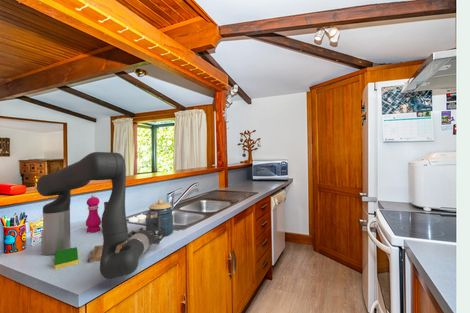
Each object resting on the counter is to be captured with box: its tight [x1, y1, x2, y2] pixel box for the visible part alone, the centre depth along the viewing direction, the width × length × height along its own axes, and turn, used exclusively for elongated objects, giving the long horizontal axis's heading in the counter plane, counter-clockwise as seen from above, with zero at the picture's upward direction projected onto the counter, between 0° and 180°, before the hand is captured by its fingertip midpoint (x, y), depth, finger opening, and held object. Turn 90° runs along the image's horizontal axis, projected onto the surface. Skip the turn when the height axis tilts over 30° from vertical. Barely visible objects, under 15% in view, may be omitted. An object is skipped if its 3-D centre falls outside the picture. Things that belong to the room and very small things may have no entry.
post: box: [150, 212, 157, 218], centre depth 106 cm, size 2×2×14 cm
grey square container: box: [145, 214, 162, 245], centre depth 107 cm, size 6×7×12 cm
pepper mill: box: [85, 194, 102, 234], centre depth 124 cm, size 7×7×20 cm
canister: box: [146, 199, 175, 237], centre depth 118 cm, size 13×13×18 cm
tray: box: [89, 241, 127, 263], centre depth 94 cm, size 12×12×2 cm
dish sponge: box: [53, 246, 79, 270], centre depth 89 cm, size 7×14×2 cm, turn 37°
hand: (151, 229), depth 103 cm, fingers open, 8 cm apart
